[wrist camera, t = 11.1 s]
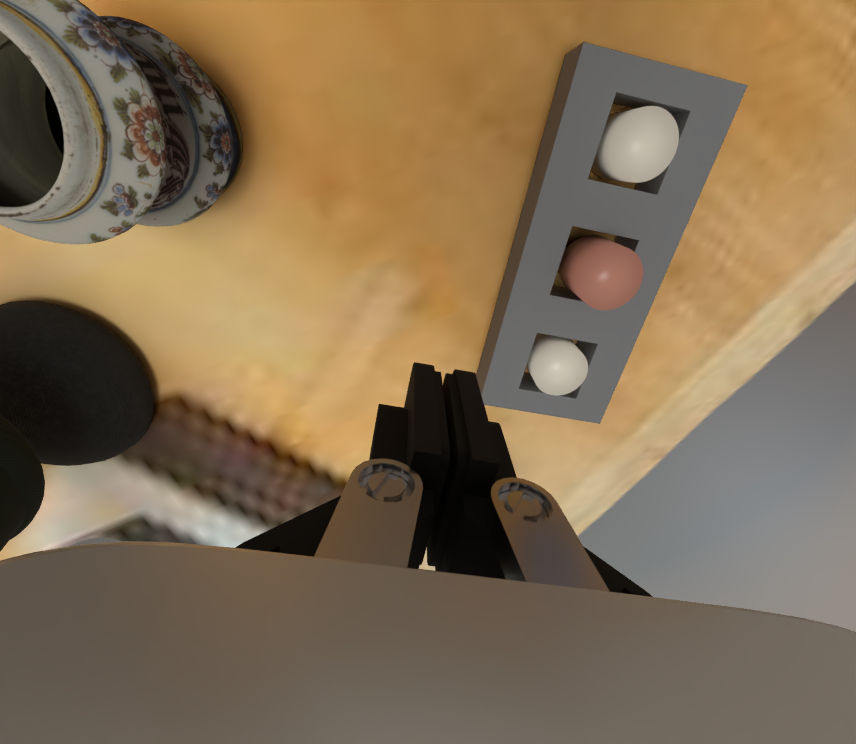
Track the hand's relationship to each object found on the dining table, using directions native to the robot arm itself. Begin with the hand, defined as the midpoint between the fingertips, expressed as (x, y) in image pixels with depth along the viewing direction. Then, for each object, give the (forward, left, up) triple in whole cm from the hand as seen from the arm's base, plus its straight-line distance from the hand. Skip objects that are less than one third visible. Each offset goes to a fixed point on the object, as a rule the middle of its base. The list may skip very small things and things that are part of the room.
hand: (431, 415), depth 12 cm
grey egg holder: (-1, +14, -29) cm, 32 cm away
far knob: (+8, +14, -29) cm, 33 cm away
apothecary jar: (-4, -20, -29) cm, 36 cm away
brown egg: (-1, +14, -26) cm, 30 cm away
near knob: (-10, +14, -29) cm, 34 cm away
